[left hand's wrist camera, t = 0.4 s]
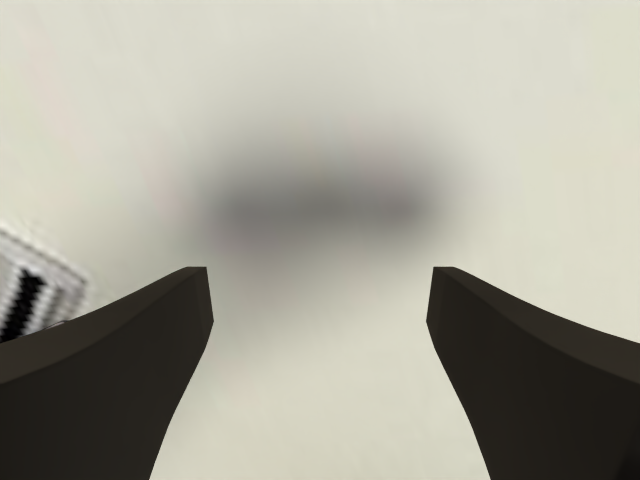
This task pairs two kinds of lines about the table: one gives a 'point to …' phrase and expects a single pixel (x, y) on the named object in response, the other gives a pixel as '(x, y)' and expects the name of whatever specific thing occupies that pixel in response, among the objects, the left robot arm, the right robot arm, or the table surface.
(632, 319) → the table surface
